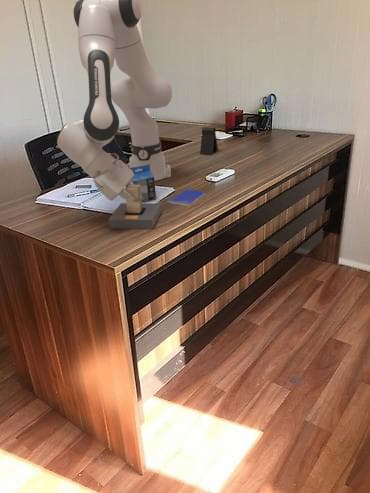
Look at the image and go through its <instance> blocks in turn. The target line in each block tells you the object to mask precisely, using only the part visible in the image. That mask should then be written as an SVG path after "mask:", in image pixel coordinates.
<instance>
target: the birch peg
mask: <svg viewBox="0 0 370 493" xmlns="http://www.w3.org/2000/svg"><path fill="white" fill-rule="evenodd" d="M124 189H125V190H126V192H127V193H129V194H132V195H133V196H134V197H135V199H134V200H133V201H132V202H129V201H128V200H127V199H125V203H126V205H127V213H140V212H141V210H142V203H143V202H142V198H141V189H140V185H128V186H127V187H124Z"/></svg>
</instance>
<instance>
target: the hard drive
mask: <svg viewBox="0 0 370 493" xmlns="http://www.w3.org/2000/svg"><path fill="white" fill-rule="evenodd" d="M205 195H206V192H205V191H199V190H192V189H185V190H183V191H182V192H179V193H178V194H177V195H175V196H174V197H172V198H170V199H168V203H169V204H174V205H179V206H185V207H186V206H187V207H189V206H190V205H192V204H193V203H195V202H197V201H198V200H199V199H201V198H202V197H204V196H205Z"/></svg>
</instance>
